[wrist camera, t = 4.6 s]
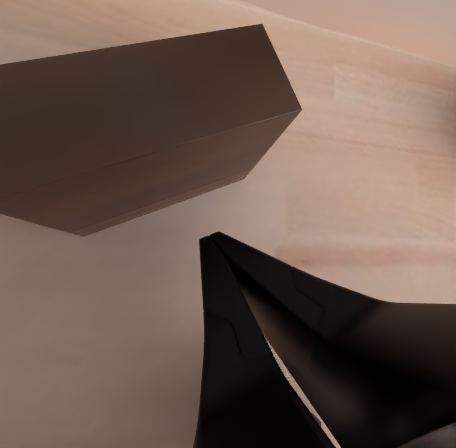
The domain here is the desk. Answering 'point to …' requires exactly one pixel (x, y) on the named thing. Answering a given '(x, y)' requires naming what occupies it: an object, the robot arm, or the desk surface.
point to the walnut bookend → (137, 126)
